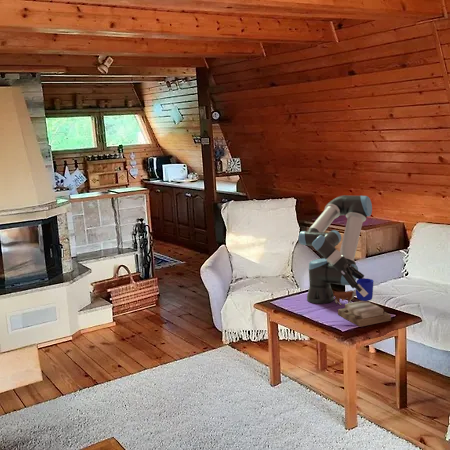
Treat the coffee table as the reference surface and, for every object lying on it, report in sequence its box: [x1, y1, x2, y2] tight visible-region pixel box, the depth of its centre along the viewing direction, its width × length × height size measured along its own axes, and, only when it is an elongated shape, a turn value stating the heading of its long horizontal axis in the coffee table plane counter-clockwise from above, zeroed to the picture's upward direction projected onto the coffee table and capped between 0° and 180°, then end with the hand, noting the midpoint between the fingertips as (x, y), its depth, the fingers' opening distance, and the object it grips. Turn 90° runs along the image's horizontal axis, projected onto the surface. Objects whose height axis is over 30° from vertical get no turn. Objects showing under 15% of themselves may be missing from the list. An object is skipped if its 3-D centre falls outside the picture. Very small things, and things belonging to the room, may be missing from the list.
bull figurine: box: [333, 289, 357, 306], centre depth 309 cm, size 4×13×8 cm, turn 78°
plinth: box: [337, 300, 392, 328], centre depth 287 cm, size 20×18×6 cm
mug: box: [355, 277, 375, 302], centre depth 285 cm, size 8×12×10 cm
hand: (368, 291), depth 284 cm, fingers closed on mug, 11 cm apart
